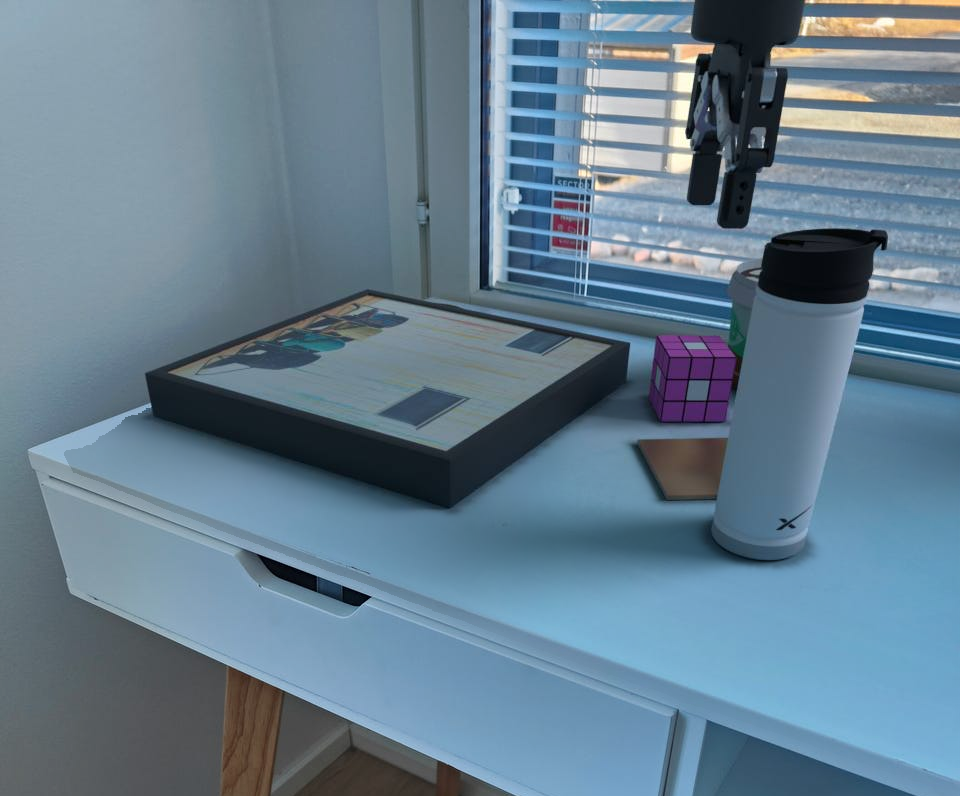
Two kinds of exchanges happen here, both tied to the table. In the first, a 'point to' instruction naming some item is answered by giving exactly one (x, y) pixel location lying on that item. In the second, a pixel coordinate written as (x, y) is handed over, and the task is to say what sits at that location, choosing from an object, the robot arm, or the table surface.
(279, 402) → the framed picture
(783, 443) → the travel mug
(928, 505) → the table surface
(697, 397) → the puzzle toy
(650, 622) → the table surface
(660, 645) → the table surface
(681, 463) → the cork coaster
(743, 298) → the food container
